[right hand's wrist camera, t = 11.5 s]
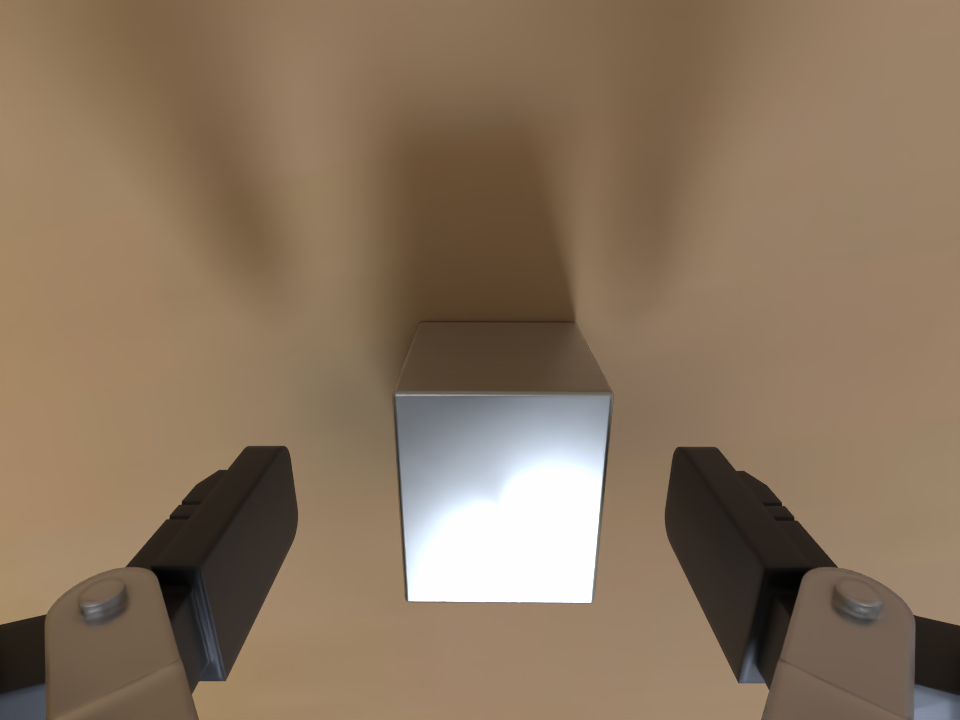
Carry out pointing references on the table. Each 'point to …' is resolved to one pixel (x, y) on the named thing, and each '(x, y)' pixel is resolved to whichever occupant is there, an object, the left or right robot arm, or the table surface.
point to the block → (501, 462)
